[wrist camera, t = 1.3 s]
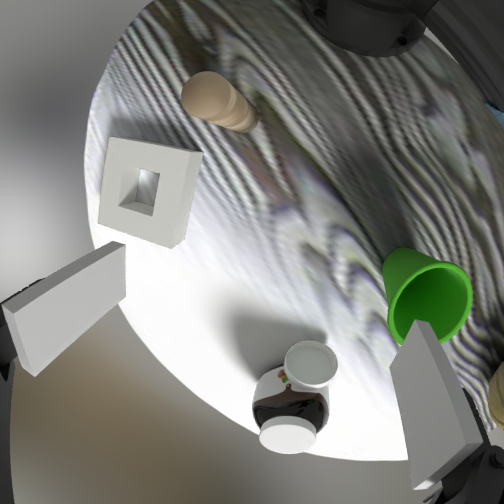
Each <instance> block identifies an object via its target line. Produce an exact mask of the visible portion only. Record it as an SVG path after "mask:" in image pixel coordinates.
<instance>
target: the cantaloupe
mask: <svg viewBox="0 0 504 504" xmlns="http://www.w3.org/2000/svg"><path fill="white" fill-rule="evenodd" d="M488 407H489V412H490V415H491V417H492V419H493V420H494V422H495V423H496V424H497V425H498V426H499V427H500V428H502V429H503V430H504V361H503V362H502V363H501V365H500V366H499V367H498V369H497V370H496V372H495V373H494V375H493V377H492V379H491V383H490V387H489V395H488Z"/></svg>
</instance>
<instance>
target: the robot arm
mask: <svg viewBox="0 0 504 504" xmlns="http://www.w3.org/2000/svg"><path fill="white" fill-rule="evenodd" d="M302 7H303V10H304V13H305V15H306V17H307V19H308V20H309V22H310V23H311V24H312V26H313V27H314V28H315V29H316V30H317V31H318V32H319V33H320V34H321V35H322V36H324V37H325V38H326V39H328V40H329V41H331V42H332V43H334V44H335V45H337V46H339V47H341V48H343V49H346V50H348V51H351V52H354V53H357V54H361V55H365V56H371V57H390V56H395V55H399V54H402V53H404V52H406V51H407V50H409V49H410V48H412V47H413V46H414V45H415V44H416V43H417V42H418V41H419V39H420V38H421V37H422V35H423V33H424V31H425V29H426V27H427V28H428V29H429V30H430V31H431V32H432V33H433V34H434V35H435V36H436V37H437V38H438V40H439V41H440V42H441V43H442V44H443V45H444V46H445V48H446V49H447V50H448V51H449V52H450V53H451V55H452V56H453V57H454V58H455V60H456V61H457V62H458V63H459V65H460V66H461V67H462V68H463V70H464V71H465V72H466V74H467V75H468V77H469V78H470V79H471V81H472V82H473V84H474V85H475V87H476V88H477V90H478V91H479V93H480V94H481V98H482V100H483V102H484V103H485V105H486V106H487V107H488V108H489V109H490V110H491V111H492V112H493V114H494V115H495V117H496V118H497V120H498V121H499V123H500V124H501V126H502V128H503V129H504V0H302ZM125 249H126V245H125V244H121V243H118V242H115V241H112V242H110V243H108V244H106V245H104V246H102V247H100V248H98V249H96V250H95V251H93V252H91V253H89V254H87V255H85V256H83V257H81V258H80V259H78V260H76V261H74V262H72V263H71V264H69V265H67V266H65V267H63V268H62V269H60V270H58V271H57V272H55V273H53V274H51V275H50V276H48V277H46V278H43V279H39V280H37V281H35V282H34V283H32V284H30V285H29V287H25V288H24V289H22V291H19V292H17V293H15V294H14V295H12V296H11V297H9V298H7V299H6V300H4V301H3V302H1V303H0V504H15V503H14V498H13V497H14V496H13V488H12V478H11V466H10V465H11V464H10V412H11V398H12V387H13V378H14V371H15V363H14V360H13V359H14V358H15V357H16V356H18V357H19V360H20V362H21V365H22V367H23V368H24V369H25V370H27V371H28V372H29V373H30V374H32V375H33V376H36V375H38V374H39V373H40V372H41V371H42V370H43V369H44V368H45V367H46V366H47V365H48V364H49V363H50V362H52V361H53V360H54V359H55V358H56V357H57V356H58V355H59V354H60V353H61V352H62V351H64V350H65V349H66V348H67V347H68V346H69V345H70V344H71V343H73V342H74V341H75V340H76V339H77V338H78V337H79V336H80V335H81V334H83V333H84V332H85V331H86V330H87V329H88V328H89V327H91V326H92V325H93V324H94V323H95V322H96V321H97V320H99V319H100V318H101V317H102V316H103V315H104V314H106V313H107V312H108V311H109V310H110V309H111V308H113V307H114V306H115V305H116V304H117V303H119V302H120V301H121V300H122V299H123V298H125V297H126V286H125ZM389 368H390V372H391V376H392V380H393V384H394V388H395V393H396V397H397V401H398V406H399V411H400V415H401V420H402V425H403V431H404V436H405V442H406V447H407V453H408V460H409V466H410V474H411V482H412V490H416V489H427V488H431V487H432V486H433V485H435V484H436V483H437V482H439V481H440V480H441V481H442V487H441V488H440V489H438V490H437V491H435V492H434V493H433V494H431V495H430V496H428V497H427V498H426V499H425V500H424V501H423V502H424V503H425V502H427V501H428V500H430V499H431V498H432V500H431V502H430V503H429V504H504V450H503V449H502V448H501V447H499V446H496V445H494V446H491V444H490V441H489V438H488V435H487V433H486V430H485V428H484V425H483V423H482V420H481V418H480V417H479V413H478V410H477V409H476V406H475V403H474V401H473V399H472V397H471V396H470V394H469V393H468V392H467V391H466V390H465V388H462V387H461V385H460V383H459V381H458V379H457V376H456V374H455V372H454V370H453V368H452V366H451V364H450V362H449V360H448V358H447V356H446V354H445V352H444V350H443V348H442V346H441V344H440V342H439V340H438V338H437V337H436V335H435V333H434V331H433V329H432V327H431V325H430V324H429V322H425V321H420V320H416V319H415V320H414V322H413V324H412V326H411V328H410V330H409V332H408V334H407V336H406V338H405V340H404V342H403V344H402V346H401V348H400V349H399V351H398V353H397V355H396V357H395V358H394V360H393V362H392V364H391V365H390V367H389Z"/></svg>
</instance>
